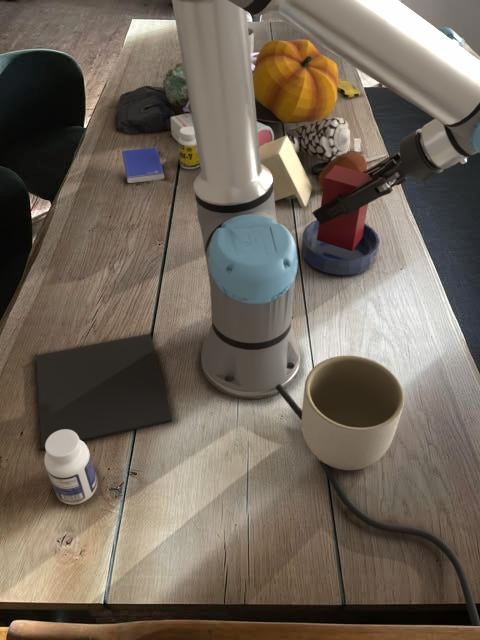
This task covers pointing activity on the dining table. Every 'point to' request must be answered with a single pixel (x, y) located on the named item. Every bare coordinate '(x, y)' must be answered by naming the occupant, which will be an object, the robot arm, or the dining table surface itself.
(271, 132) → the mug
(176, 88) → the rock
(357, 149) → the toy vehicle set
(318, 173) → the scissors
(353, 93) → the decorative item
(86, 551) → the dining table surface
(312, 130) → the seashell
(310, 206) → the dining table surface
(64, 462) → the pill bottle
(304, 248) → the bowl
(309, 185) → the cream wooden brick
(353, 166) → the potato
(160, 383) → the mat
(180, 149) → the supplement bottle
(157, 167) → the blue book
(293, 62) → the decorative pumpkin
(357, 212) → the case
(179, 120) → the ink box
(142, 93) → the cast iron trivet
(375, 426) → the planter
